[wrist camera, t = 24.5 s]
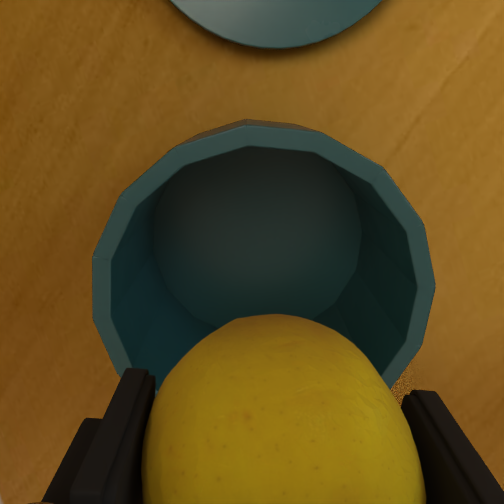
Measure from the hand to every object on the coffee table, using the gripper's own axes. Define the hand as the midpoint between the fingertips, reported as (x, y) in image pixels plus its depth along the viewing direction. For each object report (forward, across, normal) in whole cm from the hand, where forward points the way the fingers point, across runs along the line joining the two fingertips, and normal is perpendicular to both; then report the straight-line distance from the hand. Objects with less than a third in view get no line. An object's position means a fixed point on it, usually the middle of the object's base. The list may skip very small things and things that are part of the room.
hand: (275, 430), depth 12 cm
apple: (+3, 0, 0) cm, 3 cm away
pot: (+18, 0, 0) cm, 18 cm away
